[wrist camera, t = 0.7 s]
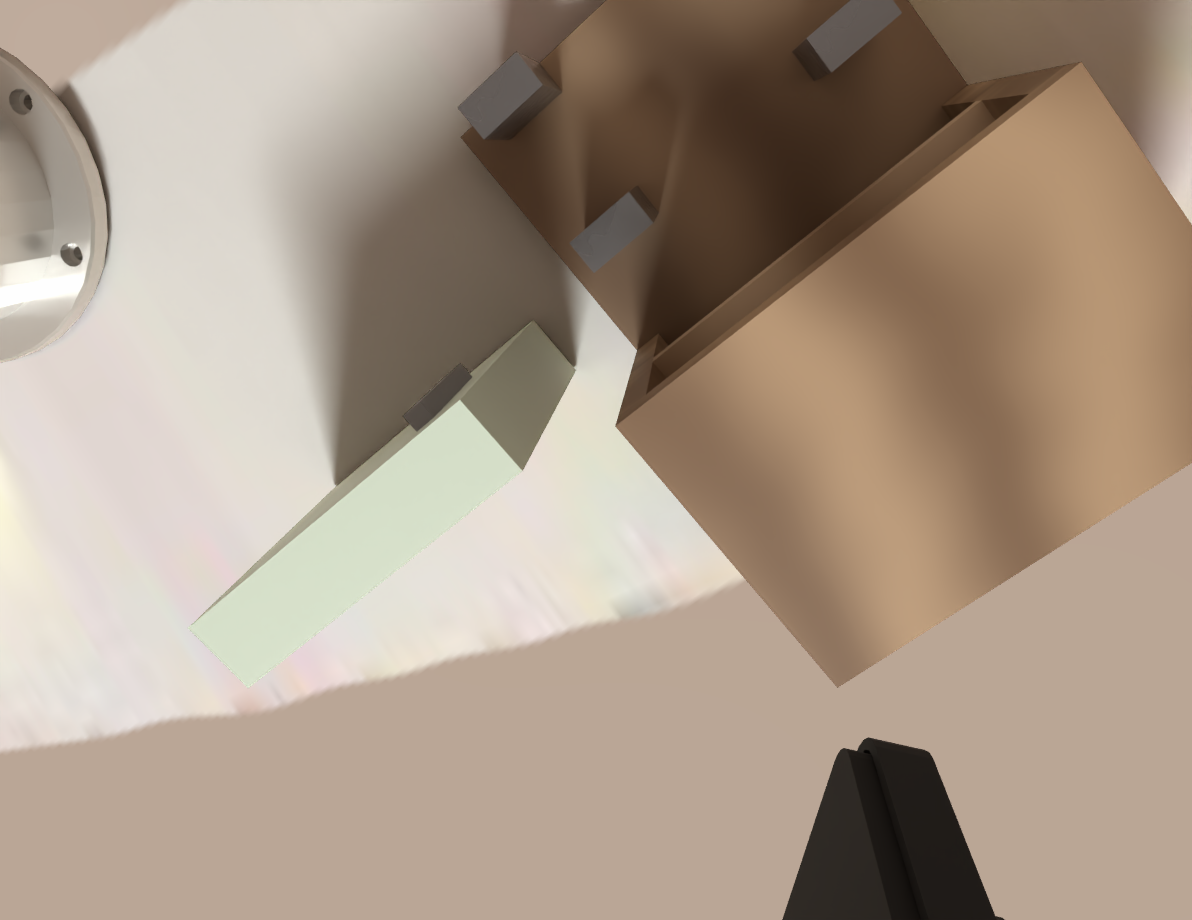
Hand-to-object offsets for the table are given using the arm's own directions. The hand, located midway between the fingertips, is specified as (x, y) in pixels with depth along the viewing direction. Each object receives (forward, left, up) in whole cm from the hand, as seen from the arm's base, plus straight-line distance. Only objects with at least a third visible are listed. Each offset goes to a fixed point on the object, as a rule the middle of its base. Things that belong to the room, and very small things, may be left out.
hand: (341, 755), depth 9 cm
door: (-8, 0, -29) cm, 30 cm away
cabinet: (+7, -2, -29) cm, 29 cm away
